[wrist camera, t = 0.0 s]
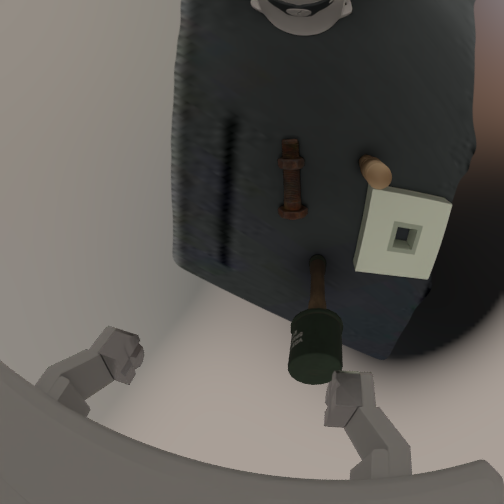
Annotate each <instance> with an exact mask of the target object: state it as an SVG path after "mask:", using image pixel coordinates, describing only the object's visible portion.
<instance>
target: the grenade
mask: <svg viewBox="0 0 504 504" xmlns="http://www.w3.org/2000/svg"><path fill="white" fill-rule="evenodd" d="M309 266H310V274H311V294H310V301H309V307H308V309H307V310H305V311H302V312H300V313H299V314H298V315H296V316H295V317H294V319H293V321H292V323H291V334H292V339H291V347H290V354H289V362H288V371H289V373H290V375H291V376H292V377H293V378H294V379H295V380H297V381H299V382H302V383H305V384H311V385H315V384H316V385H317V384H324V383H328V382H330V381H332V374H333V372H334V371H335V370H339V371H342V367H343V364H342V337H341V335H342V331H343V323H342V320H341V318H340V317H339V316H338V315H337V314H336V313H335V312H332V311H330V310H328V309H326V301H325V290H324V274H325V267H326V261H325V259H324V258H323V257H322V256H321V255H315V256H313V257H312V258H311V259H310V261H309Z"/></svg>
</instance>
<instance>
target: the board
mask: <svg viewBox="0 0 504 504" xmlns="http://www.w3.org/2000/svg"><path fill="white" fill-rule="evenodd" d="M451 207H452V204H451V203H450V202H449V201H448V200H446V199H445V198H443V197H438V196H434V195H429V194H425V193H420V192H415V191H410V190H405V189H400V188H395V187H389V186H387V187H386V188H384V189H381V190H378V189H374V188H373V187H371V186H370V185H369V184H368V190H367V196H366V202H365V207H364V212H363V218H362V223H361V228H360V232H359V237H358V242H357V246H356V251H355V255H354V259H353V263H354V268H355V271H360V272H368V273H377V274H385V275H394V276H403V277H411V278H420V279H428V278H429V275H430V273H431V270H432V267H433V265H434V262H435V259H436V256H437V253H438V251H439V248H440V244H441V242H442V238H443V235H444V232H445V229H446V225H447V222H448V218H449V215H450V211H451ZM398 227H403V228H409V229H410V230H409V234H408V237H407V241H404V240H397V239H395V236H396V232H397V228H398Z"/></svg>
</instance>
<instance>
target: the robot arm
mask: <svg viewBox="0 0 504 504" xmlns="http://www.w3.org/2000/svg"><path fill="white" fill-rule="evenodd" d="M345 3H346V4H347V5H345ZM251 6H252V7H253V8H254V9H256V10H257V11H259V12H261V13H263V14H264V15H265V16H266V17H267V18H268V20H269V21H270V22H271V23H272V24H273V25H274V26H276V27H277V28H279V29H281V30H282V31H285V32H287V33H290V34H295V35H304V36H305V35H315V34H319V33H321V32H324V31H326V30H328V29H329V28H330V27H332V26H333V25H334V24H335V23H336V22H337V21H338V20H339V19H340V18H342V17H345V16H347V15H349V14H351V13H352V5H351V1H350V0H251ZM139 341H140V339H139V337H138V335H136V334H133V333H130V332H126V331H123V330H120V329H117V328H114V327H111V326H108V327H106V328H105V329H104V331H103V332H102V333H101V334H100V336H99V337H98V338H97V340H96V341H95V342H94V344H93V345H92V346H91V348H90V349H89V350H87V349H86V350H84V351H81V352H79V353H77V354H75V355H73V356H71V357H69V358H67V359H65V360H62V361H60V362H58V363H56V364H54V365H52V366H50V367H48V368H47V370H46V371H45V372H44V374H43V375H42V376H41V378H40V379H39V381H38V382H37V383H36V385H35V386H34V385H32V384H31V383H29V382H28V381H26V380H25V379H24V378H22V377H21V376H20V375H18V374H17V373H15V372H14V371H13V370H11V369H10V368H9V367H8V366H6V365H5V364H4V363H3V362H2V361H0V504H504V483H503V479H502V477H501V476H500V474H499V473H498V472H497V471H496V470H495V469H494V468H493V467H492V466H491V465H490V464H489V463H488V462H487V461H485V460H477V461H474V462H470V463H467V464H463V465H459V466H455V467H451V468H446V469H442V470H437V471H432V472H427V473H421V474H414V475H412V469H411V468H412V467H411V451H410V446H409V445H408V443H407V442H406V440H405V439H404V438H403V437H402V435H401V434H400V433H399V432H398V430H397V429H396V428H395V427H394V425H393V424H392V423H391V422H390V420H389V419H388V418H387V416H386V415H385V414H384V413H383V412H382V410H381V409H380V408H379V407H376V402H375V392H374V382H373V374H372V373H371V372H358V371H339V370H335V371H334V372H333V374H332V381H330V382H329V385H328V388H327V391H326V401H325V403H326V405H327V406H328V407H327V409H326V411H325V421H324V426H328V427H342V428H344V429H345V431H346V433H347V435H348V436H349V438H350V440H351V441H352V443H353V445H354V447H355V449H356V450H357V452H358V454H359V456H360V457H361V459H362V461H361V462H360V463H359V464H357V465H356V466H355V467H354V468H353V469H352V470H351V472H350V480H318V479H301V478H290V477H280V476H271V475H264V474H258V473H252V472H246V471H240V470H235V469H230V468H225V467H221V466H217V465H212V464H208V463H204V462H200V461H197V460H193V459H190V458H186V457H182V456H180V455H176V454H173V453H170V452H167V451H164V450H161V449H158V448H156V447H153V446H150V445H147V444H145V443H142V442H140V441H137V440H134V439H132V438H130V437H127V436H125V435H122V434H120V433H118V432H116V431H113V430H111V429H109V428H107V427H105V426H103V425H101V424H99V423H97V422H95V421H93V420H91V419H89V418H87V415H88V413H89V411H90V408H89V406H88V405H87V403H86V402H85V401H84V400H86V399H87V398H89V397H90V396H92V395H93V394H95V393H96V392H98V391H99V390H101V389H102V388H104V387H105V386H107V385H108V384H110V383H111V382H113V381H114V380H116V381H119V382H122V383H125V384H128V385H130V383H131V381H132V379H133V378H134V376H135V369H136V368H138V367H140V366H141V364H142V362H143V358H144V350H143V347H142V346H141V345H140V344H139Z"/></svg>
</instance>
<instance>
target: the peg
mask: <svg viewBox="0 0 504 504" xmlns="http://www.w3.org/2000/svg"><path fill="white" fill-rule="evenodd" d="M359 166H360V167H361V168H360V169H361V173H362V175H363V176H364V177H365V179H366V180H367V182H368V183H369V185H370V186H371V187H373V188H374V189H378V190H381V189H384V188H386V187H387V186H388V185H389V184H390V182H391V180H392V174H391V171H390V169H389V168H388V167H387V166H386V165H384V164H383V163H382V162H381V161H380V160H379V159H378V158H376V157H371V156H370V155H363V156H362V157H361V158H360V159H359Z"/></svg>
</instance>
